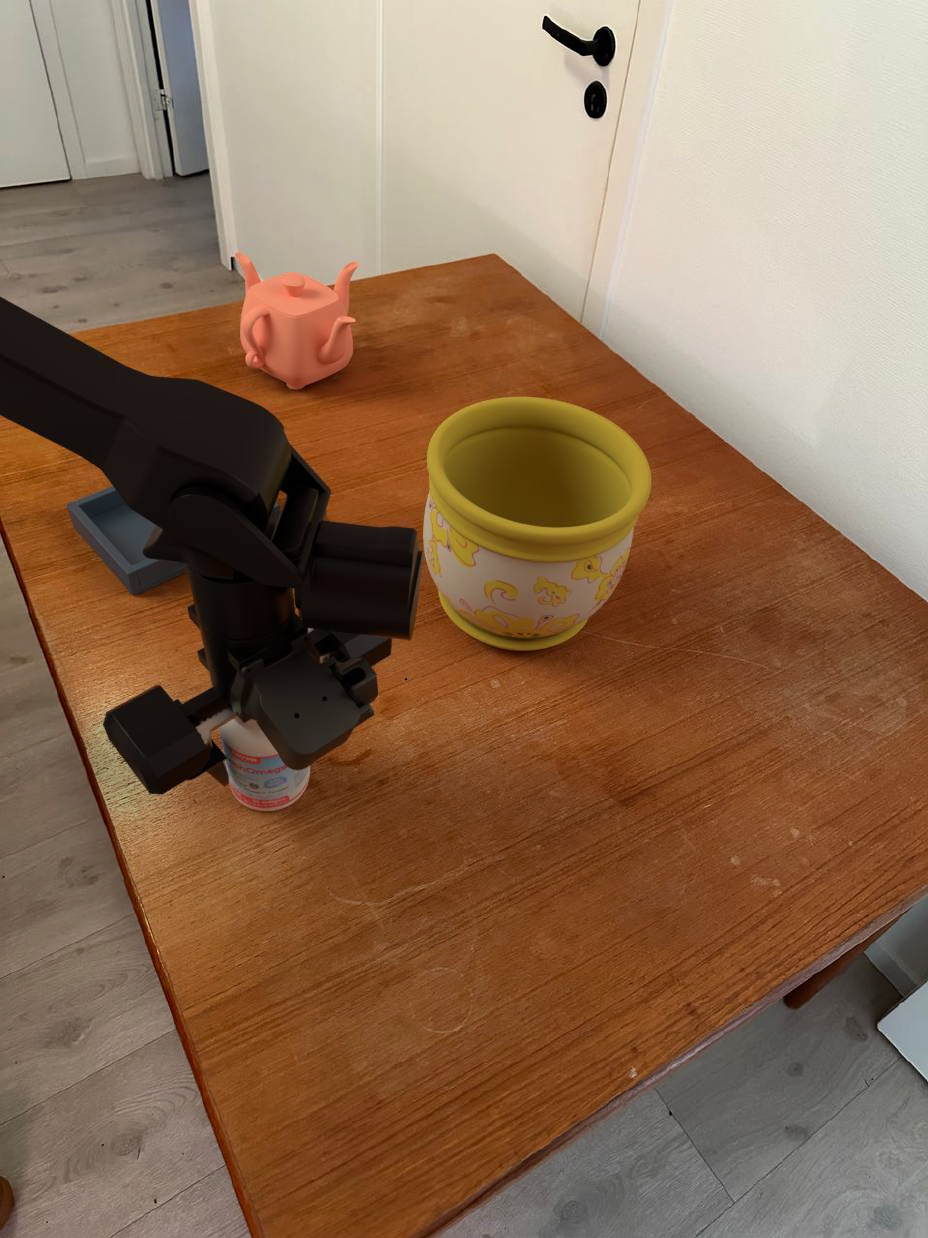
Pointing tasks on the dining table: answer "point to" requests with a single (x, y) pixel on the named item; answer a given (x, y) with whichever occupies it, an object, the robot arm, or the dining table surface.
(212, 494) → the robot arm
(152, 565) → the tray
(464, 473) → the flowerpot
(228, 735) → the pill bottle
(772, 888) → the dining table surface
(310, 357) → the teapot
